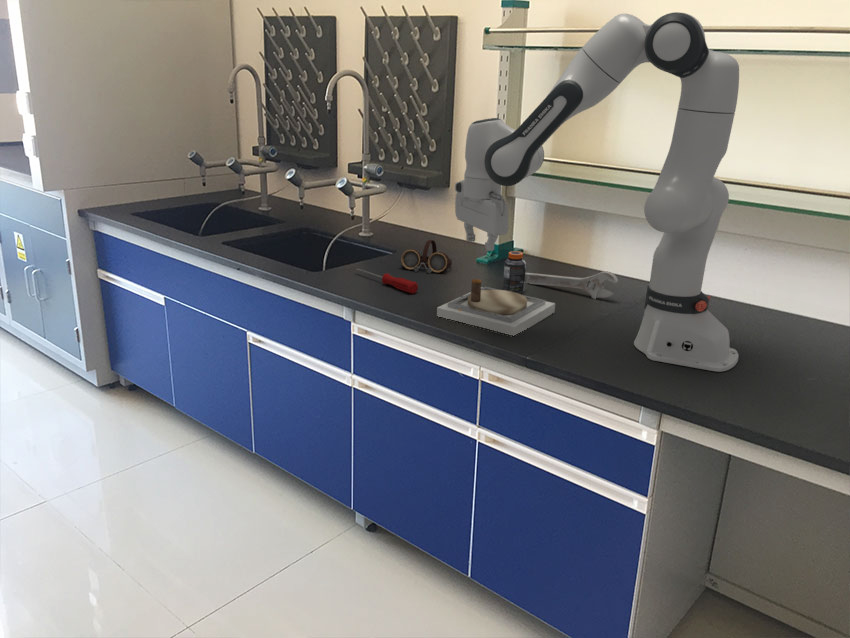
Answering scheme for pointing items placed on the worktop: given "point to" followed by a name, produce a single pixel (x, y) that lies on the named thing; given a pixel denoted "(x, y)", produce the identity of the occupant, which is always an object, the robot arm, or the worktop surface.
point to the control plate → (497, 322)
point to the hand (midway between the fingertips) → (479, 245)
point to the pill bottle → (514, 272)
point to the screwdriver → (397, 282)
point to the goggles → (426, 259)
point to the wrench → (576, 282)
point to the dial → (495, 300)
